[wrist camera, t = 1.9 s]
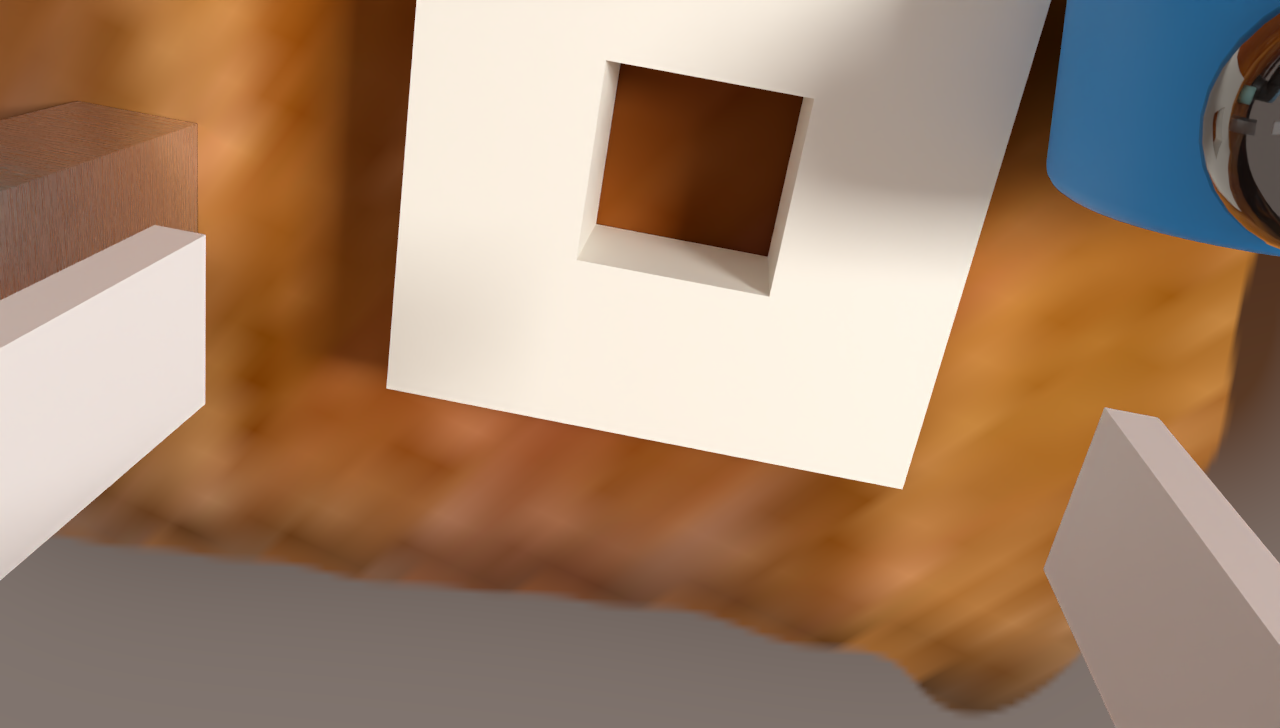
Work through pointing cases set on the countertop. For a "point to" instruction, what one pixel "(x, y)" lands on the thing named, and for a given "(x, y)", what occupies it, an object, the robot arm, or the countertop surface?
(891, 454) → the bore block
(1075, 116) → the alarm clock
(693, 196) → the countertop surface
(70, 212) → the square bit
